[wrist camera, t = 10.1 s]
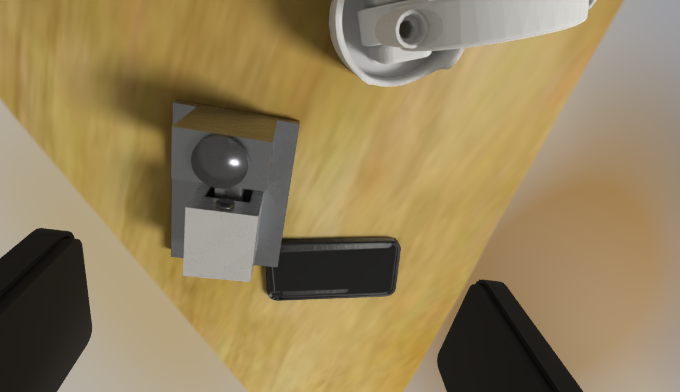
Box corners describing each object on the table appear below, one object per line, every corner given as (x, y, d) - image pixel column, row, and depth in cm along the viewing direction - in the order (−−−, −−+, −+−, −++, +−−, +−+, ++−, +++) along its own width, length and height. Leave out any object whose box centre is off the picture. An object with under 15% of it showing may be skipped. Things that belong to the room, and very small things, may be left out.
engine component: (318, -34, 29) (339, 91, 34) (350, -137, 11) (389, 169, 15) (449, -60, 30) (454, 68, 34) (698, -203, 11) (640, 117, 15)
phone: (264, 243, 39) (401, 241, 40) (265, 238, 40) (399, 235, 41) (267, 301, 42) (394, 297, 44) (268, 295, 43) (392, 290, 45)
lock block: (197, 245, 38) (183, 275, 33) (200, 181, 35) (185, 204, 30) (256, 252, 39) (250, 281, 34) (263, 189, 36) (258, 213, 31)
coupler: (177, 99, 33) (137, 123, 25) (299, 120, 34) (299, 149, 26) (174, 250, 39) (142, 307, 31) (278, 260, 41) (272, 317, 33)
